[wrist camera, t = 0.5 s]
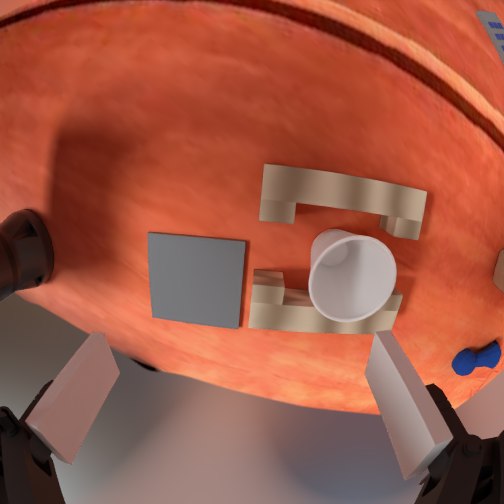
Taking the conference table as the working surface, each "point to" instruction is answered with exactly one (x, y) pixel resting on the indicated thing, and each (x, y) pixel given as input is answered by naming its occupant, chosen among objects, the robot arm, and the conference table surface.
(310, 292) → the cup
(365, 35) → the conference table surface
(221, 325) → the coaster
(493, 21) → the remote control
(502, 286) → the perfume bottle
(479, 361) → the toy
